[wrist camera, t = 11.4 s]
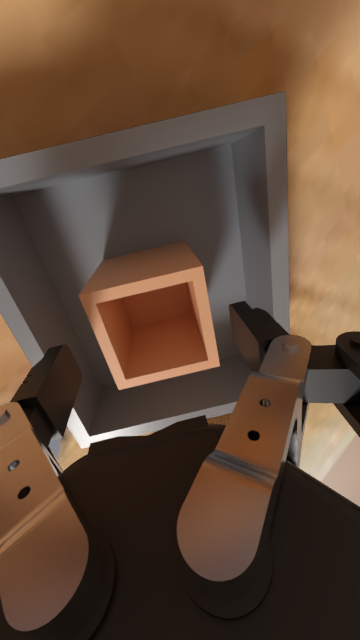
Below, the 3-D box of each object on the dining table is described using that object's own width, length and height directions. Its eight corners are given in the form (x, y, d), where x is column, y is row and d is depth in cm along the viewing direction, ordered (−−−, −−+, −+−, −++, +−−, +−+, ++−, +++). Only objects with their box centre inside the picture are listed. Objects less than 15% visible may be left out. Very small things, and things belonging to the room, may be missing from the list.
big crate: (-5, 182, 16) (-81, 178, 11) (241, 124, 16) (286, 90, 11) (96, 392, 24) (81, 448, 19) (259, 353, 24) (290, 398, 19)
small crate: (102, 260, 18) (78, 295, 12) (184, 240, 18) (202, 265, 12) (127, 331, 21) (118, 390, 15) (199, 314, 21) (220, 366, 15)
